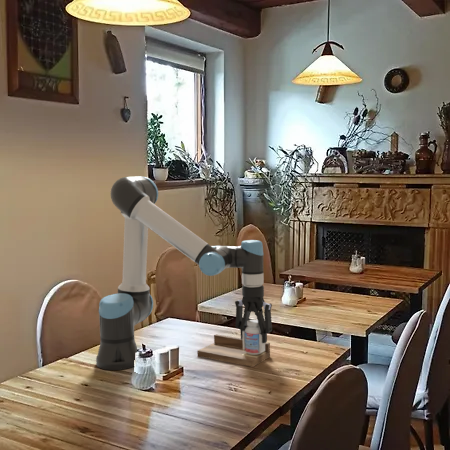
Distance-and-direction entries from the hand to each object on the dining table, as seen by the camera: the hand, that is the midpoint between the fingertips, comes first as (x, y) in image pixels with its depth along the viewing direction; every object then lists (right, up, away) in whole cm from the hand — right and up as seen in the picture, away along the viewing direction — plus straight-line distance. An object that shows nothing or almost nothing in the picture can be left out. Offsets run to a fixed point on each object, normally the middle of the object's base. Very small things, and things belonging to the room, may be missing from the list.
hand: (253, 350), depth 206 cm
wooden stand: (-7, -3, +4) cm, 9 cm away
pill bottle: (0, -1, 0) cm, 1 cm away
